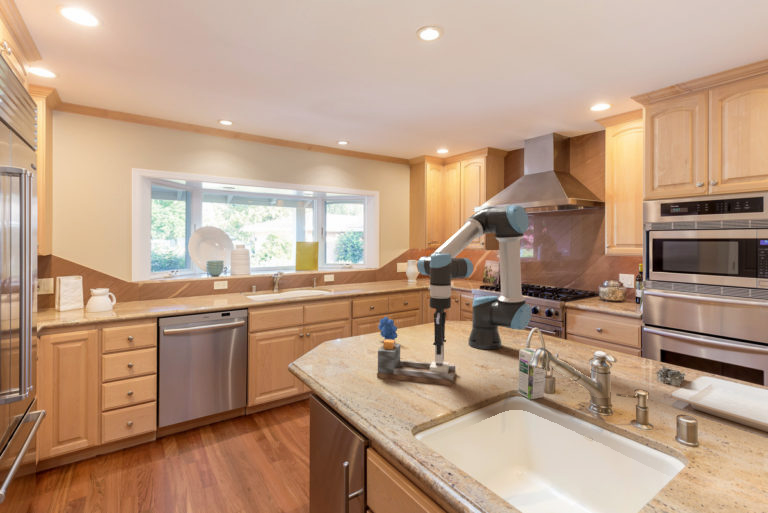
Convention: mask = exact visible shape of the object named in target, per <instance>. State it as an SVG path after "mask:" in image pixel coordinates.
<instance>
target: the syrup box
mask: <svg viewBox="0 0 768 513" xmlns="http://www.w3.org/2000/svg"><path fill="white" fill-rule="evenodd" d="M536 350H537V349H534V348H531V347H529V348H522V349H519V351H518V352H519V353H518V354H519V355H518V380H517V381H518V383H517V384H518V386H517V393H518V394H520V395H521V396H523V397H525V398H526V399H527V400H536V399H540V398H544V389H545V388H544V387H545V369H544V370H543V369H539V368H535V367H532V366H530V364H529V363H530V360H531V358H532V356H533V354H534V353H535V351H536Z"/></svg>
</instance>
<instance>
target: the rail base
mask: <svg viewBox="0 0 768 513" xmlns="http://www.w3.org/2000/svg"><path fill="white" fill-rule="evenodd" d="M431 363H432V362H423V361H422V362H421V361H414V360H413V361H411V360H401V344H400V343H398V344H396V343H395V348H394V349H383V345H381V347H380V348H379V349H377V372H376V378H381V379H388V380H389V379H390V380H397V381H398V380H399V381H409V382H416V383H417V382H418V383H425V384H426V383H427V384H435V385H436V384H437V385H446V386H454V381H455V377H456V372H457V371H456V365H453V364H449V371H448V373H438V372H430V365H431Z"/></svg>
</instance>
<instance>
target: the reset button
mask: <svg viewBox="0 0 768 513" xmlns="http://www.w3.org/2000/svg"><path fill="white" fill-rule="evenodd" d="M395 344H396V339H395V340H388V339H386V340H385V339H384V340H383V343H382V346H383V349H394V348H395Z"/></svg>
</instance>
